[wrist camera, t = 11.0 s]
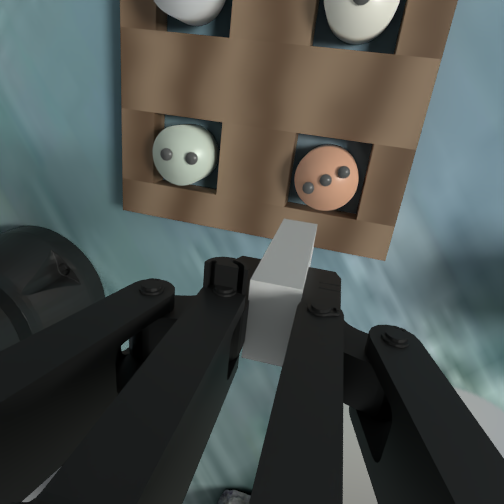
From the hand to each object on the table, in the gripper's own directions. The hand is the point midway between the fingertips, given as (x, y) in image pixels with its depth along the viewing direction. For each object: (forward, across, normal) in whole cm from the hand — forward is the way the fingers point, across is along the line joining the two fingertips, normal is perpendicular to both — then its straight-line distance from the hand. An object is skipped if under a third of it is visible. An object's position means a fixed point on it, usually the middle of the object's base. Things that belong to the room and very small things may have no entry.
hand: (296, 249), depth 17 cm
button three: (+16, +1, +1) cm, 16 cm away
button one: (+16, +1, +13) cm, 21 cm away
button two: (+16, -11, +1) cm, 20 cm away
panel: (+17, -5, +7) cm, 19 cm away
